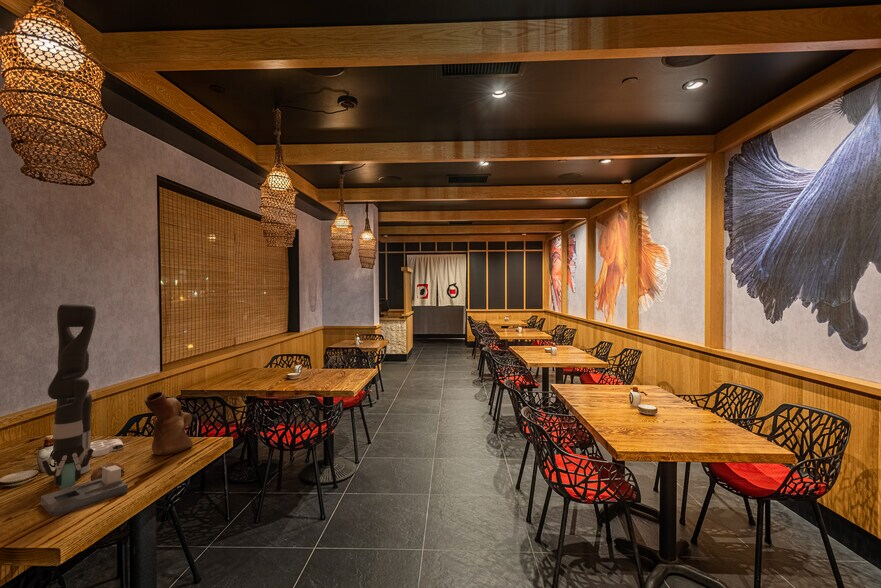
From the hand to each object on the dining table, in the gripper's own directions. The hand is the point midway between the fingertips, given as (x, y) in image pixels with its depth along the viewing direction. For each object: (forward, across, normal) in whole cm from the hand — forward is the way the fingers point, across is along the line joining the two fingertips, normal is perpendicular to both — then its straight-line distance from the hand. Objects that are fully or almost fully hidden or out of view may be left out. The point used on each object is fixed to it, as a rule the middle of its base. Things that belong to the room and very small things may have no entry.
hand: (67, 482), depth 135 cm
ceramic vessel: (+8, -41, -25) cm, 49 cm away
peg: (+1, 0, 0) cm, 1 cm away
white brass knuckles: (+8, -26, -57) cm, 63 cm away
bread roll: (+8, -16, -15) cm, 23 cm away
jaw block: (+5, -12, 0) cm, 13 cm away
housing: (+8, -5, 0) cm, 9 cm away
